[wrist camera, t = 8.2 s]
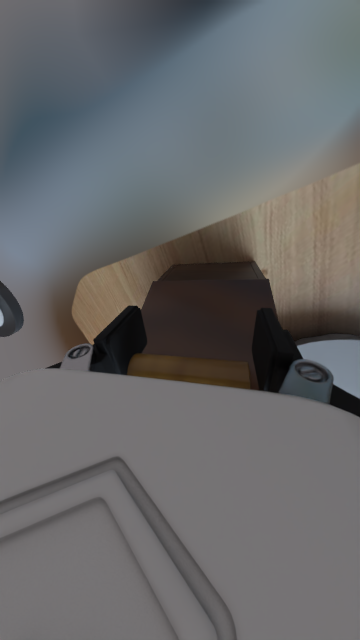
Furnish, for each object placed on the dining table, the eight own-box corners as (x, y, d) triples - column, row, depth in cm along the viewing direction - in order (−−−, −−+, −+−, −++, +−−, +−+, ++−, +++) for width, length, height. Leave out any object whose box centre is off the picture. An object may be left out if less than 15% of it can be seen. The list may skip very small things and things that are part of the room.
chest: (246, 336, 33) (252, 372, 26) (179, 333, 36) (168, 364, 28) (255, 261, 26) (267, 280, 19) (172, 264, 29) (155, 282, 22)
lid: (304, 451, 10) (358, 437, 6) (102, 417, 13) (54, 392, 9) (267, 284, 19) (279, 237, 15) (154, 286, 22) (141, 246, 18)
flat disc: (225, 336, 34) (225, 351, 30) (431, 307, 25) (467, 325, 21) (246, 423, 46) (248, 441, 42) (389, 426, 37) (408, 450, 33)
